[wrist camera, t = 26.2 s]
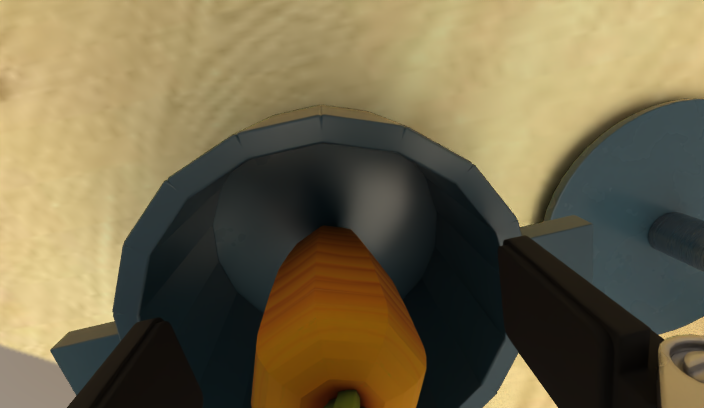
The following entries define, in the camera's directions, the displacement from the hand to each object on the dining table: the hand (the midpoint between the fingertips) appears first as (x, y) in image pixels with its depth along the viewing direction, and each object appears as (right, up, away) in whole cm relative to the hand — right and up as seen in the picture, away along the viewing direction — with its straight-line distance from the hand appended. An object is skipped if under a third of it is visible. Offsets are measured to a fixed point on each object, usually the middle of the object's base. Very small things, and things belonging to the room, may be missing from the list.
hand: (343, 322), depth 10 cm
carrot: (-1, +2, +10) cm, 10 cm away
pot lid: (+18, +2, +11) cm, 21 cm away
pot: (-1, +2, +10) cm, 10 cm away
